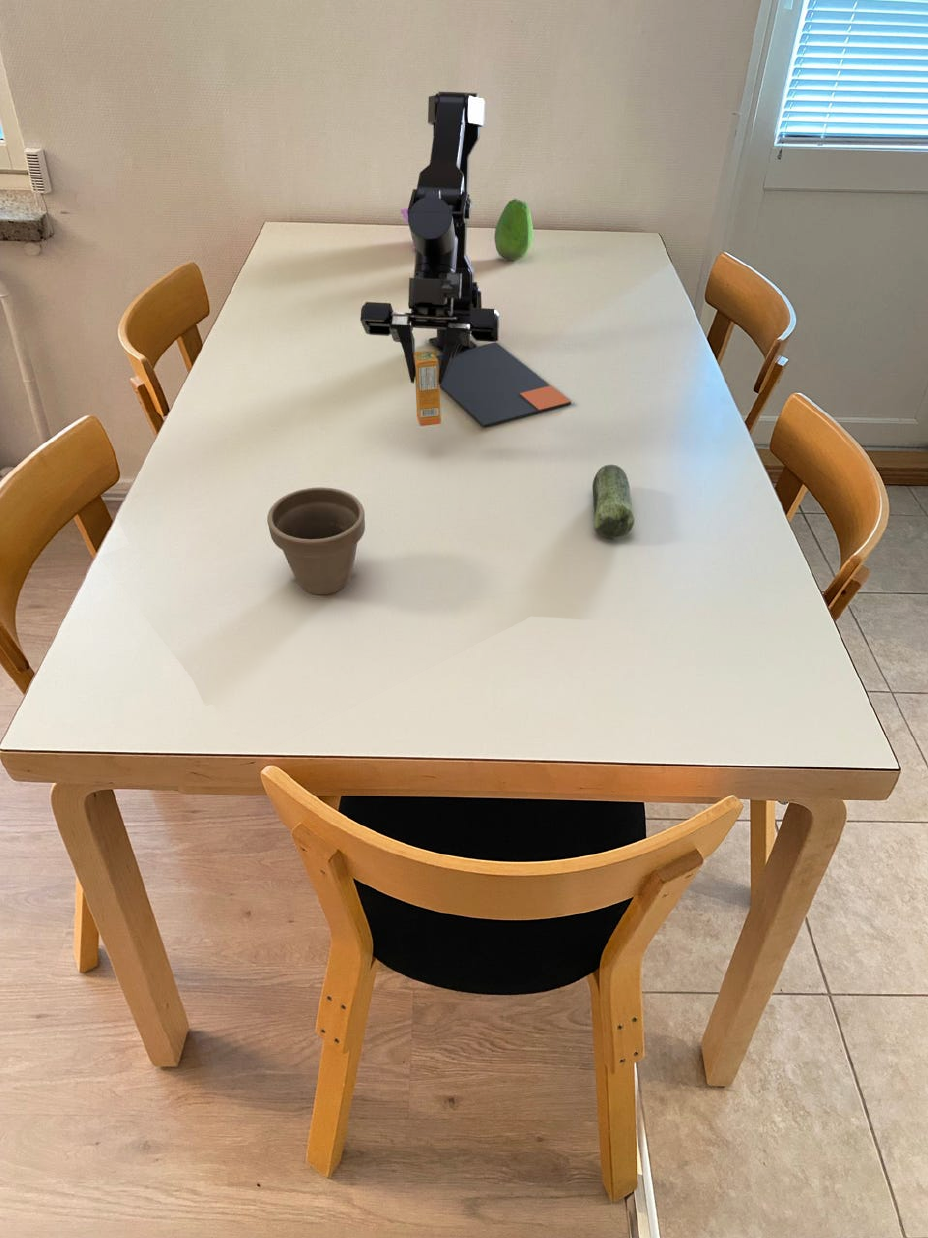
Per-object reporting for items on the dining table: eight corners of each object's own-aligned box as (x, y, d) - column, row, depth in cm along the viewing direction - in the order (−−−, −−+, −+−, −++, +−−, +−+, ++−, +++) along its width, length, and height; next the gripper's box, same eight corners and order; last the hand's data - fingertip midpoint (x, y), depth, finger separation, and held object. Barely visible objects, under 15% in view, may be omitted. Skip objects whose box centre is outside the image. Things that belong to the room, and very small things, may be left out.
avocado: (532, 266, 197) (536, 205, 189) (493, 265, 197) (495, 205, 189) (530, 251, 203) (534, 192, 195) (493, 251, 203) (495, 191, 195)
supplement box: (414, 415, 139) (413, 350, 132) (437, 413, 140) (437, 348, 133) (417, 426, 137) (416, 361, 130) (441, 425, 137) (441, 360, 130)
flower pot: (259, 572, 121) (248, 505, 114) (337, 540, 126) (331, 474, 120) (306, 621, 114) (298, 553, 107) (386, 585, 119) (383, 518, 113)
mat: (414, 363, 164) (414, 360, 164) (495, 344, 170) (496, 341, 170) (483, 427, 148) (483, 424, 148) (570, 404, 154) (571, 401, 154)
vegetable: (632, 546, 126) (637, 514, 123) (592, 544, 126) (597, 512, 123) (625, 487, 137) (630, 456, 133) (589, 485, 137) (592, 454, 134)
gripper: (358, 242, 126) (348, 360, 125) (501, 250, 125) (492, 368, 124) (371, 277, 137) (362, 385, 136) (502, 284, 136) (494, 393, 135)
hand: (426, 383), depth 133 cm, fingers closed on supplement box, 3 cm apart
